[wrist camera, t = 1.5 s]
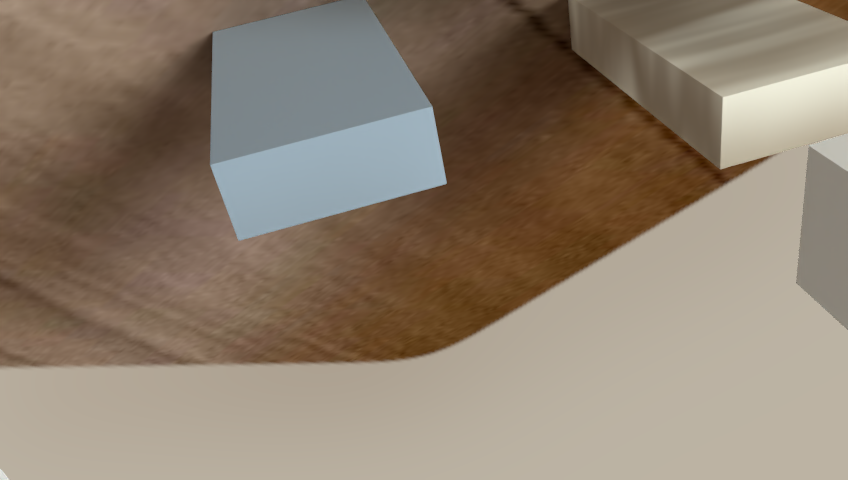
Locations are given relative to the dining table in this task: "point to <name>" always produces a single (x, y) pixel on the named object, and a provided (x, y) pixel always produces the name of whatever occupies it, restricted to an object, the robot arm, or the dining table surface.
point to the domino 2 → (723, 69)
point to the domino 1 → (316, 118)
